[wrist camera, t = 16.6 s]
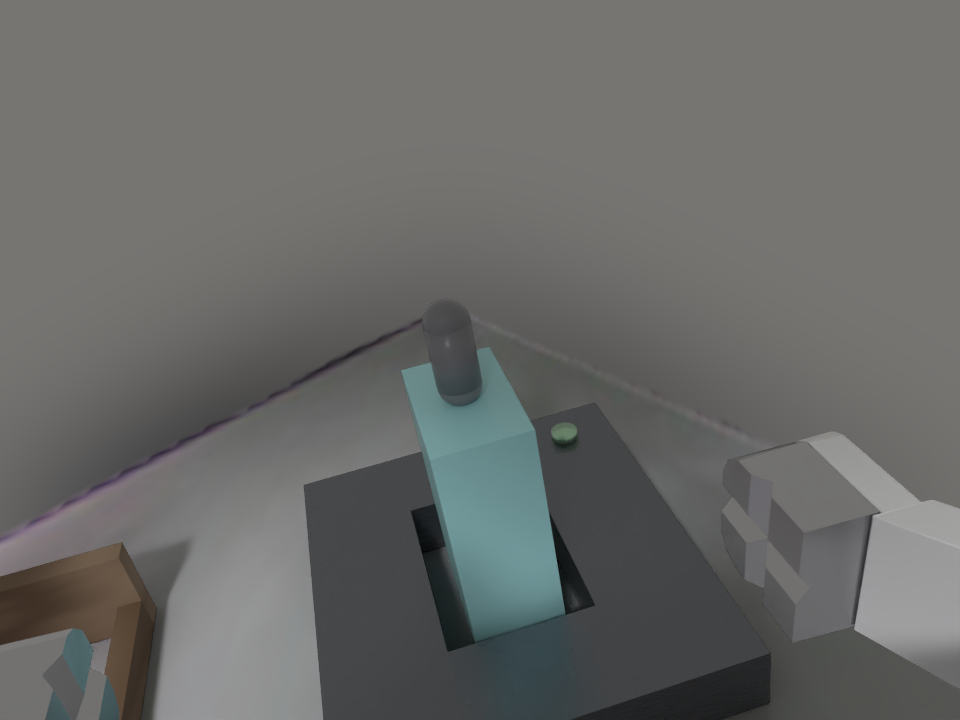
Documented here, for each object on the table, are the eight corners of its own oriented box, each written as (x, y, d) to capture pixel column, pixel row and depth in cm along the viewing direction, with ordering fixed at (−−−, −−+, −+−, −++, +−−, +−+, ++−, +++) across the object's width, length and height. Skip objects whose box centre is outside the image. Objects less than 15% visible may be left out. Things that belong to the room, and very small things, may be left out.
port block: (350, 845, 26) (326, 791, 24) (318, 524, 40) (301, 478, 38) (769, 702, 28) (771, 644, 26) (599, 443, 41) (594, 395, 40)
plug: (482, 668, 31) (404, 357, 24) (449, 561, 36) (378, 280, 29) (569, 640, 31) (517, 327, 24) (525, 538, 36) (472, 255, 30)
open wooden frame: (-148, 936, 26) (-223, 868, 24) (-41, 666, 36) (-88, 601, 34) (121, 847, 27) (71, 775, 25) (156, 608, 37) (122, 542, 35)
